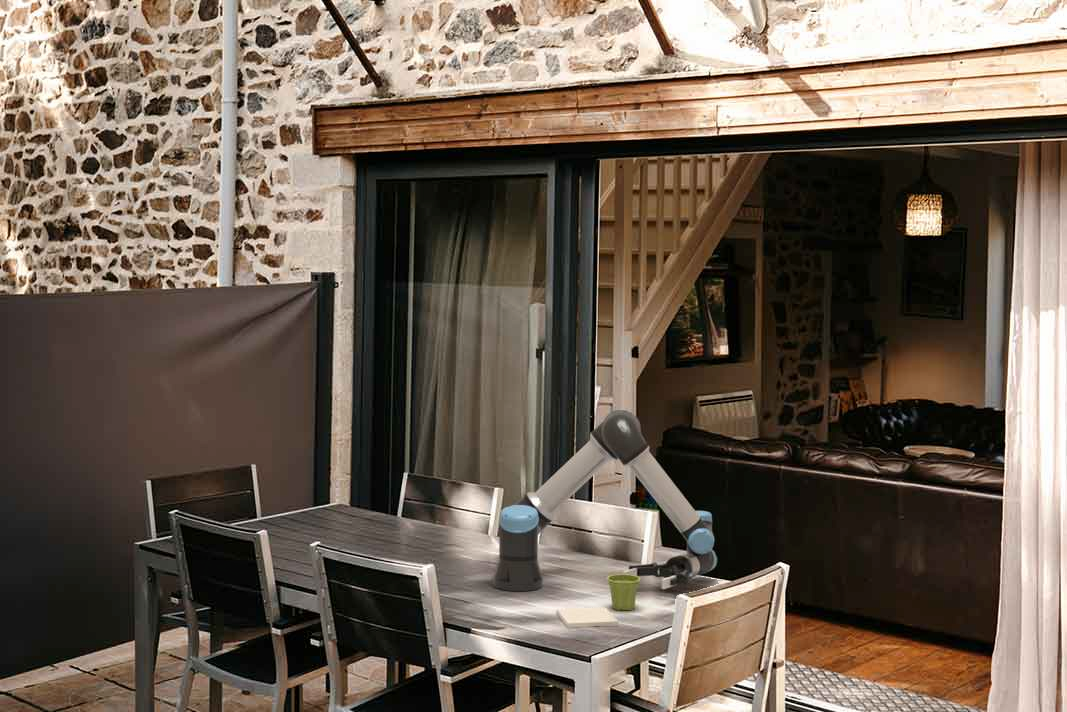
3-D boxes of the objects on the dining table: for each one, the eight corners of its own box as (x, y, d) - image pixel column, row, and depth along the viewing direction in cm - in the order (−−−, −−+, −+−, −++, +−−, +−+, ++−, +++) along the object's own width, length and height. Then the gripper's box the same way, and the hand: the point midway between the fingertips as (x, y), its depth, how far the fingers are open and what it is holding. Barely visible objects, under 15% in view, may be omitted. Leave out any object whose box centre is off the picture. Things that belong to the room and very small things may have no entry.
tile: (556, 613, 347) (556, 609, 346) (605, 611, 349) (605, 607, 349) (567, 627, 333) (567, 623, 333) (618, 625, 336) (618, 621, 336)
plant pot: (621, 614, 347) (621, 583, 346) (599, 606, 354) (600, 576, 354) (646, 609, 352) (647, 579, 352) (625, 602, 360) (625, 572, 359)
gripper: (717, 586, 370) (679, 600, 353) (647, 573, 385) (607, 586, 369) (718, 561, 369) (679, 574, 353) (647, 549, 385) (607, 561, 368)
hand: (642, 580), depth 361 cm, fingers open, 13 cm apart
